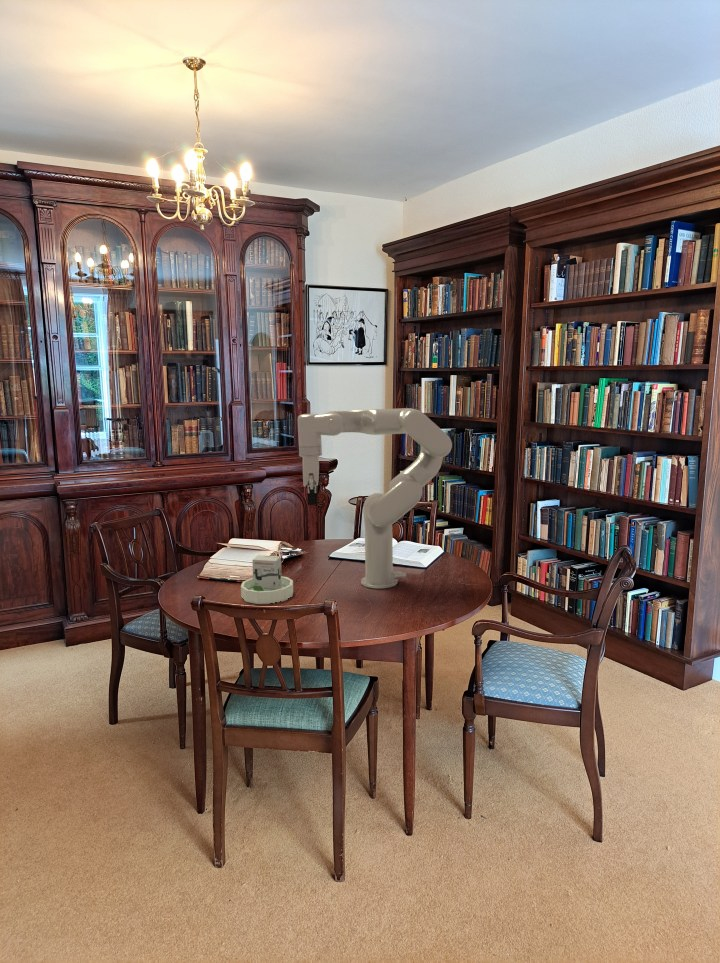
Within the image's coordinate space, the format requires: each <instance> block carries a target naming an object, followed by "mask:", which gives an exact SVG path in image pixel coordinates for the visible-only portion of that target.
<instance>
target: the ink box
mask: <svg viewBox="0 0 720 963" xmlns="http://www.w3.org/2000/svg"><path fill="white" fill-rule="evenodd" d="M252 578H253V590H254V591H273V590H277V589H282V557H281V556H279V555H278V556H277V555H264V554H263V555H262V554H259V555H256V556H255V557H254V558H253V559H252Z"/></svg>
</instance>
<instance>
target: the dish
mask: <svg viewBox="0 0 720 963" xmlns="http://www.w3.org/2000/svg"><path fill="white" fill-rule="evenodd" d="M281 576H282V575H281ZM240 595H241V596H240V597H242V598H243V599H244V600H243V599H242V598H241V599H242V600H243V601H244V602H246V603H251V604H256V605H268V604H270V603H273V604H276V603H275V602H277V603H281V602H285V601H287V600H289V599H290V597H291V598H292V597H293V596H294V580H293V579H291V578H290V577H288V576H282V589H277V590H273V591H254V590H253V577H250V578H248V579H246V580H244V581H242V582H241V585H240ZM288 598H289V599H288ZM280 601H281V602H280ZM270 605H271V604H270Z"/></svg>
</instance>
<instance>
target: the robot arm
mask: <svg viewBox="0 0 720 963" xmlns="http://www.w3.org/2000/svg"><path fill="white" fill-rule="evenodd" d="M297 432H298V434H297V436H298V437H297V438H298V455H299V457H301V458H302V481H303V482H302V483H303V487H306V486H307V494H306V496H307V498H306V499H307V505H308V506H317V505H318V498H319V497H318V495H319V494H318V485H319V480H320V478H319V477H320V476H319V475H320V462H319V457H321V456H323V445H322V436H328V437H331V436H332V437H335V436H338V435H340V434H342V433H360V434H365V435H373V436H379V435H380V436H381V435H401V434H407V435H408V436H409V437H410V438H412V439H413V440H414V441H415V442H416V443H417V445H420V452H419V455H418V456H417V457H416V459H415V460H414V461H413V462H412V463H411V464H410V465H409V466H407V467H406V468H405V469H403V470H402V471H401V472H400V473H398V474H397V475H396V476H395V477H394V478H392V479H391V481H390V483H389V485H388V491H387V492H385V494H383V493H379V492H377V493H376V492H375V493H372V494H370V495H368V496H367V498H366V499H365V500H364V503H363V507H362V508H363V509H362V512H363V523H364V524H363V525H364V555H365V556H364V564H365V568H364V569H365V576H364V577H362V578H361V581H360V582H361V585H362V586H364V587H365V588H369V589H378V590H379V589H389V588H393V587H395V586H396V585H397V584H398V579H407V572H403V571H396V570H394V567H393V566H394V565H393V564H394V562H393V553H394V552H393V551H394V550H393V540H394V537H393V536H394V535H393V524H394V523H396V522H397V521H399V520H400V519H401V518H402V517H403V516H405V515H406V514H407V513H408V512H409V511H411V510H412V509H413V508H414V507H415V506H416V505H417V504H418V503H419V502H420V501H421V499H422V495H423V487H425V486H426V485H427V484H428V483H429V482H430V481H431V480H432V479H433V478H435V476H436V475H437V474H438V473H439V471H440V469H441V467H442V464H443V459H444V457H446V456H448V455H449V454H450V452H452V451H451V450H452V448H453V444H452V440H451V437H450V436H449V435H448V434H447V432H445V431H444V430H442V428H440V426H438V425H437V424H436V423H435V422H433V420H431V419H430V418H429V417H428V415H426V414H425V413H424V412H422V411H421V410H418V409H416V408H411V407H409V408H408V407H407V408H406V407H404V408H381V409H380V408H374V409H373V408H372V409H359V410H337V411H336V410H333V411H332V410H331V411H330V410H329V411H326V412H324V413H323V414H317V413H304V414H303V413H302V414H300V415H298V416H297Z"/></svg>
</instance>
